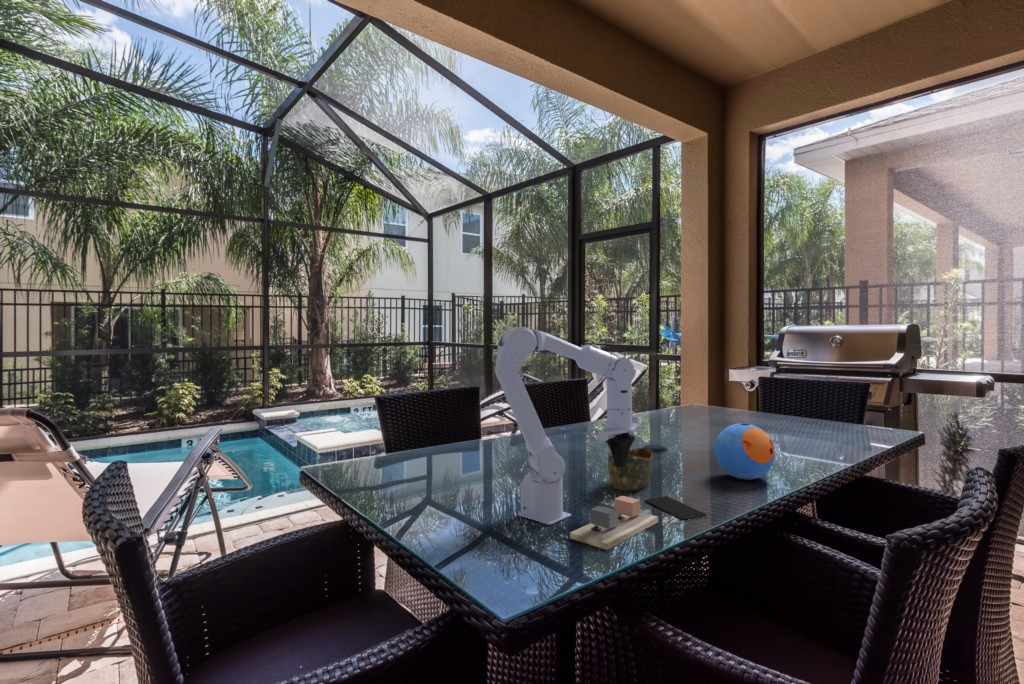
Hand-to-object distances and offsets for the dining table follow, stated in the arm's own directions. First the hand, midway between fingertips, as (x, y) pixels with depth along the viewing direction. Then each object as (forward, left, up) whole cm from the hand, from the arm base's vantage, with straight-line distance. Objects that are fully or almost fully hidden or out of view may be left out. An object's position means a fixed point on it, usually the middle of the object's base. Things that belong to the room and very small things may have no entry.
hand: (620, 466), depth 127 cm
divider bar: (+9, -11, -9) cm, 17 cm away
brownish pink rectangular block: (+6, -8, -9) cm, 13 cm away
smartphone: (+9, +9, -11) cm, 17 cm away
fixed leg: (+6, -16, -9) cm, 20 cm away
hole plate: (+6, -11, -10) cm, 17 cm away
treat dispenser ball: (+12, +45, -11) cm, 48 cm away
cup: (-9, +19, -11) cm, 24 cm away
